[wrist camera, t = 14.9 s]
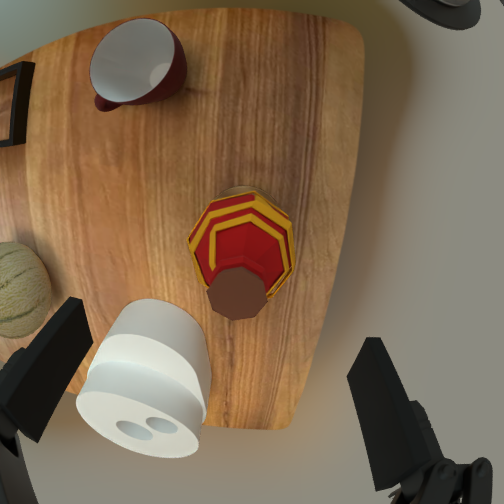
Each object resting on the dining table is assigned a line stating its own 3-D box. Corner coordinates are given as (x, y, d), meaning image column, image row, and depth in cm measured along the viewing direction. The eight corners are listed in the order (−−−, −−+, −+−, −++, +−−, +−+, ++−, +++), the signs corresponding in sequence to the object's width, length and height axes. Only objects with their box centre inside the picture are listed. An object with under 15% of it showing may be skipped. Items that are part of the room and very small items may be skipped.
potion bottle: (183, 214, 32) (134, 277, 18) (257, 163, 29) (259, 189, 16) (235, 280, 35) (224, 369, 22) (306, 237, 33) (339, 313, 19)
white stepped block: (234, 321, 39) (226, 399, 26) (200, 409, 48) (191, 467, 36) (104, 280, 36) (56, 340, 24) (106, 379, 46) (83, 431, 34)
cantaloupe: (82, 288, 37) (30, 350, 23) (42, 315, 40) (1, 366, 26) (32, 210, 32) (-36, 250, 18) (0, 251, 35) (-51, 291, 21)
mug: (143, 138, 29) (100, 143, 19) (107, 93, 26) (58, 86, 17) (214, 78, 26) (196, 56, 17) (173, 34, 23) (142, 2, 14)
